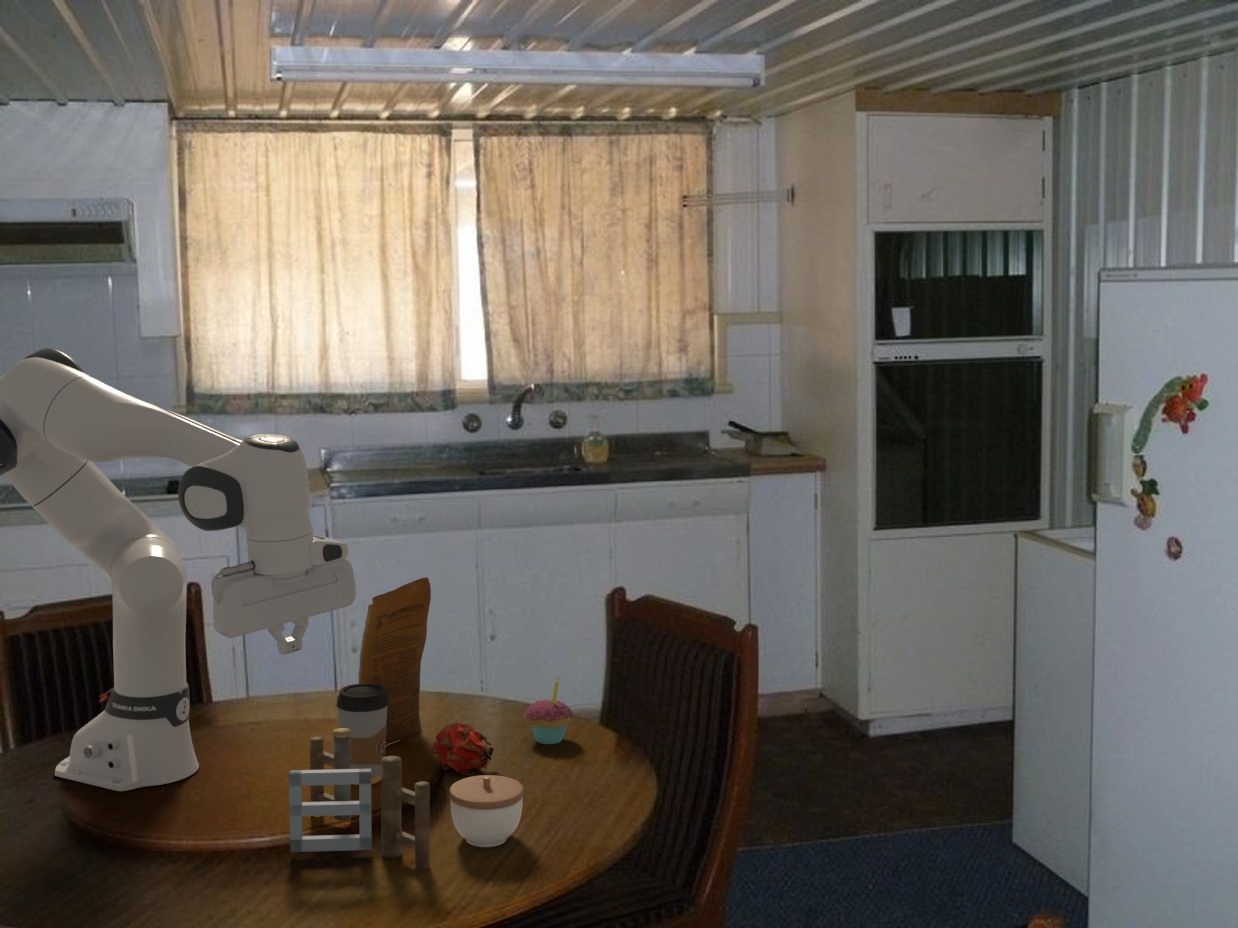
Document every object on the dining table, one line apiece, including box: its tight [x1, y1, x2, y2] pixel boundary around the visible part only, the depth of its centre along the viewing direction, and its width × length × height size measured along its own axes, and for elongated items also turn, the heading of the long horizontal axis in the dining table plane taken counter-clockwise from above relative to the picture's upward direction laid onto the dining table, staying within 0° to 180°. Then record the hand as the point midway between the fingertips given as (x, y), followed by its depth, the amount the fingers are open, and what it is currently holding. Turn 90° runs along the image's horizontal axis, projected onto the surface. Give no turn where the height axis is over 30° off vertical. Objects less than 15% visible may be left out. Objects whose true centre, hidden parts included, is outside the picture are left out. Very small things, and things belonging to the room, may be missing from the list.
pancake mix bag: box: [358, 576, 432, 745], centre depth 238 cm, size 7×19×28 cm, turn 148°
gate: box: [288, 768, 373, 853], centre depth 191 cm, size 11×1×12 cm, turn 97°
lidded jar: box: [449, 774, 525, 848], centre depth 198 cm, size 11×11×9 cm
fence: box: [309, 727, 431, 871], centre depth 196 cm, size 27×5×15 cm, turn 52°
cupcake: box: [523, 676, 574, 745], centre depth 240 cm, size 9×8×12 cm
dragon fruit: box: [430, 721, 494, 777], centre depth 225 cm, size 8×8×12 cm
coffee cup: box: [336, 683, 389, 779], centre depth 220 cm, size 8×8×15 cm
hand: (290, 651), depth 186 cm, fingers closed
